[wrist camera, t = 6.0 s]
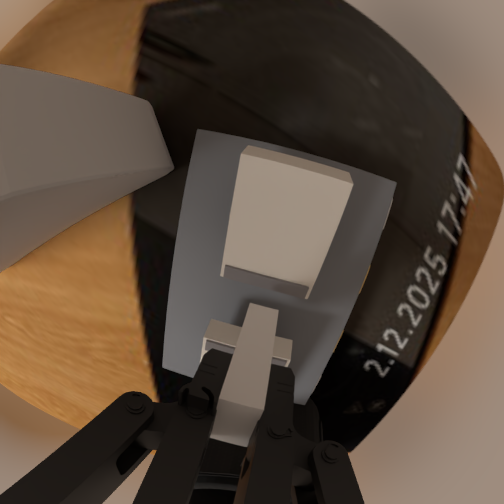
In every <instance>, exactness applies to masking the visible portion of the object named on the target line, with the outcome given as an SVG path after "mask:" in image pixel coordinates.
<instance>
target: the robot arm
mask: <svg viewBox="0 0 504 504" xmlns="http://www.w3.org/2000/svg"><path fill="white" fill-rule="evenodd" d="M278 311H279V310H276V309H272V308H268V307H264V306H260V305H257V304H253V303H250V304H249V307H248V310H247V313H246V317H245V320H244V323H243V326H242V329H241V332H240V335H239V338H238V341H237V344H236V348H235V351H234V354H230V353H227V352H223V351H220V350H217V349H213V348H212V349H210V350H209V351H208V352H206V353H205V354H204V356H203V358H202V360H201V362H200V364H199V367H198V369H197V371H196V373H195V375H194V378H193V380H192V382H191V383H188V384H186V385H184V386H182V387H181V389H180V390H179V395H178V401H177V402H174V403H157V402H152V400H151V399H150V398H149V397H148V396H147V395H146V394H143V393H141V392H135V391H131V392H126V393H124V394H123V395H121V396H120V397H119V398H117V399H116V400H115V401H114V402H113V403H112V404H110V405H109V406H108V407H107V408H106V409H105V410H103V411H102V412H101V413H100V414H99V415H98V416H96V417H95V418H94V419H93V420H92V421H90V422H89V423H88V424H87V425H86V426H85V427H83V428H82V429H81V430H80V431H79V432H77V433H76V434H75V435H74V436H73V437H71V438H70V439H69V440H68V441H67V442H66V443H64V444H63V445H62V446H61V447H59V448H58V449H57V450H56V451H55V452H54V453H52V454H51V455H50V456H49V457H47V458H46V459H45V460H44V461H42V462H41V463H40V464H39V465H37V466H36V467H35V468H34V469H33V470H31V471H30V472H29V473H28V474H26V475H25V476H24V477H22V478H21V479H20V480H19V481H18V482H16V483H15V484H14V485H12V487H10V488H9V489H7V490H6V491H5V492H4V493H2V494H1V495H0V504H102V503H103V502H104V501H105V500H106V499H107V498H108V497H109V496H110V495H111V494H112V493H113V492H114V491H115V490H116V489H117V488H118V487H119V486H120V485H121V484H122V482H123V481H124V480H125V479H126V478H127V477H128V476H129V475H130V474H131V473H132V472H133V471H134V470H135V468H137V466H138V465H139V464H140V463H141V462H142V461H143V460H144V459H145V458H146V457H147V455H148V454H149V453H150V452H151V451H152V450H157V451H156V453H155V455H154V458H153V460H152V462H151V464H150V466H149V468H148V471H147V473H146V475H145V477H144V479H143V482H142V484H141V486H140V488H139V490H138V493H137V495H136V497H135V499H134V501H133V504H189V501H190V498H191V495H192V492H193V489H194V486H195V483H196V480H197V477H198V474H199V471H200V467H201V464H202V461H203V458H204V455H205V452H206V449H207V445H208V441H209V438H213V439H217V440H220V441H224V442H228V443H231V444H236V445H240V446H244V447H247V446H248V448H247V453H246V455H245V457H244V459H243V461H242V463H241V465H240V466H242V469H241V473H240V478H239V482H238V486H237V491H236V495H235V499H234V503H233V504H290V496H291V497H292V503H293V504H364V501H363V498H362V495H361V492H360V489H359V485H358V483H357V480H356V477H355V474H354V471H353V468H352V465H351V462H350V459H349V456H348V453H347V451H346V449H345V448H344V447H343V446H342V445H341V444H340V443H337V442H335V441H329V440H326V441H322V442H320V443H318V444H317V443H315V442H312V441H310V440H308V439H306V438H304V437H302V436H301V435H300V434H298V433H297V431H296V430H295V428H294V426H293V406H294V386H295V376H294V374H293V371H292V369H291V368H289V367H284V366H280V365H275V364H271V361H272V355H273V348H274V341H275V333H276V326H277V319H278Z"/></svg>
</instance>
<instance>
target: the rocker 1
mask: <svg viewBox="0 0 504 504" xmlns="http://www.w3.org/2000/svg"><path fill="white" fill-rule="evenodd" d="M241 329H242V327H239V326H235V325H232V324H228V323H225V322H221V321H218V320H214V319H211V320H210V323H209V325H208V328H207V330H206V332H205V335H204V337H203V345H202V352H201V358H200V362H201V360H202V358H203V356H204V354H205V353H206V352H208V351H209V350H210V349H212V348H213V349H217V350H220V351H223V352H227V353H230V354H234V351H235V348H236V344H237V341H238V338H239V335H240V332H241ZM292 341H293V340H290V339H286V338H282V337H277V336H275V341H274V348H273V355H272V361H271V364H275V365H280V366H284V367H288V365H289V363H290V360H291V352H292Z"/></svg>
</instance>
